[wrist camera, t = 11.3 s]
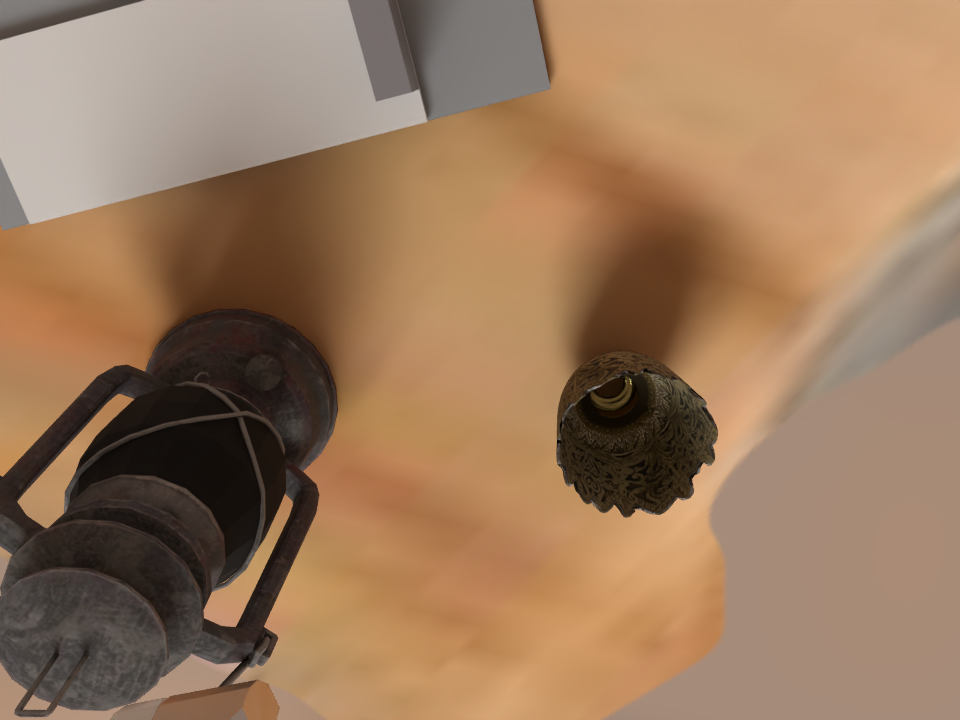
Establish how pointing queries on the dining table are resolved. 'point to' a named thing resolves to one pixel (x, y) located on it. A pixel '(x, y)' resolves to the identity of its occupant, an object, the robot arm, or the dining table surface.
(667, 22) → the dining table surface
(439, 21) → the slate board
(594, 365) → the dark ornate pot
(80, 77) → the grey strip
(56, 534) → the lantern
